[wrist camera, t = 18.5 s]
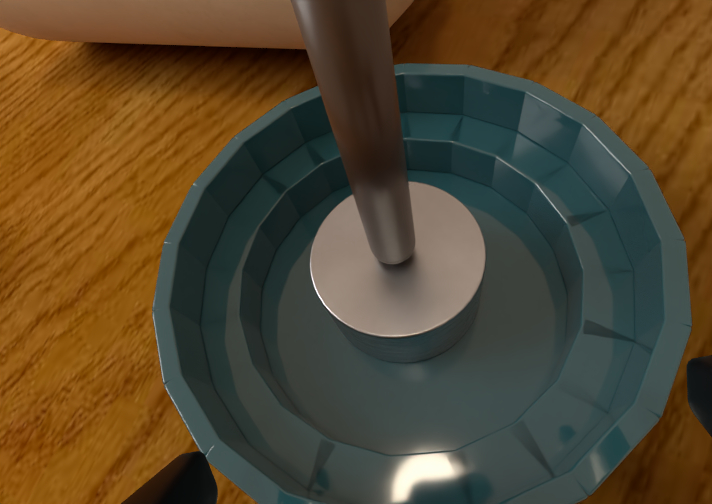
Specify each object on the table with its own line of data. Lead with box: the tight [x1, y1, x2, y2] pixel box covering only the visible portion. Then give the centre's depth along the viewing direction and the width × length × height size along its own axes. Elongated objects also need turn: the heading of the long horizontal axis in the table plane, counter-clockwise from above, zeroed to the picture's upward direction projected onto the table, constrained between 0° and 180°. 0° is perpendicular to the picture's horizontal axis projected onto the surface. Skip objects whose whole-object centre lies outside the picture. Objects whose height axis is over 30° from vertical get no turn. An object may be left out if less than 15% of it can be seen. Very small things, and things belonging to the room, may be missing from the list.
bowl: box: [152, 63, 692, 504], centre depth 15 cm, size 15×15×4 cm
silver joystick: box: [291, 0, 487, 363], centre depth 11 cm, size 6×6×13 cm
